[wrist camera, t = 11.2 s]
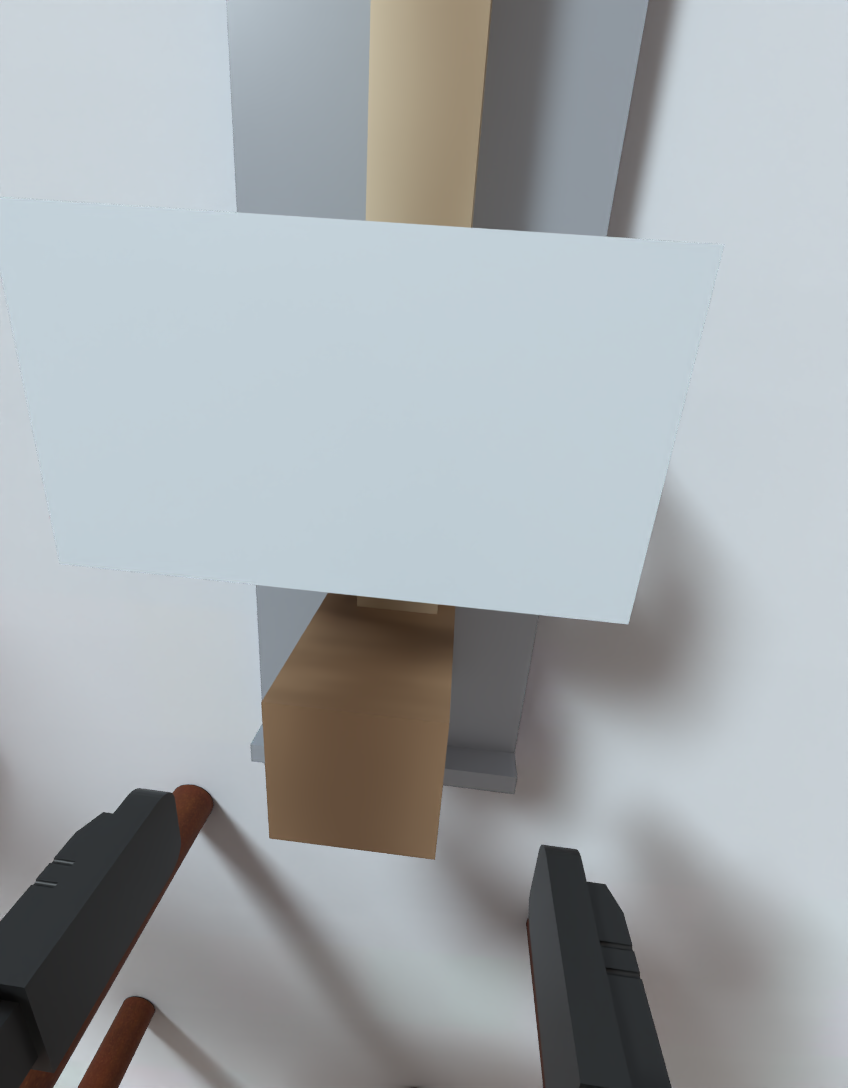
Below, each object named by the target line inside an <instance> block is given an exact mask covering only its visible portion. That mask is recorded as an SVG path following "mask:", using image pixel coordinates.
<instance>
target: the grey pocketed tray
mask: <svg viewBox="0 0 848 1088" xmlns="http://www.w3.org/2000/svg"><path fill="white" fill-rule="evenodd" d="M648 1H649V0H492V12H491V23H490V34H489V45H488V57H487V68H486V79H485V91H484V102H483V113H482V124H481V136H480V147H479V158H478V170H477V181H476V192H475V203H474V215H473V226H472V228H468V227H453V226H437V225H422V224H407V223H392V222H376V221H366V182H367V138H368V93H369V49H370V5H371V0H226V6H227V26H228V45H229V65H230V85H231V104H232V124H233V143H234V163H235V183H236V202H237V212H224V211H209V210H193V209H178V208H163V207H148V206H132V205H117V204H102V203H87V202H71V201H56V200H41V199H26V198H10V197H0V274H1V279H2V284H3V289H4V294H5V299H6V303H7V308H8V313H9V318H10V323H11V328H12V333H13V338H14V343H15V348H16V353H17V357H18V362H19V367H20V372H21V377H22V382H23V387H24V392H25V397H26V402H27V407H28V411H29V416H30V421H31V426H32V431H33V436H34V441H35V446H36V451H37V456H38V461H39V465H40V470H41V475H42V480H43V485H44V490H45V495H46V500H47V505H48V510H49V514H50V519H51V524H52V529H53V534H54V539H55V544H56V549H57V554H58V559H59V564H64V565H73V566H83V567H92V568H102V569H111V570H120V571H130V572H139V573H149V574H158V575H167V576H177V577H186V578H196V579H205V580H215V581H224V582H233V583H243V584H252V585H256V595H257V615H258V634H259V654H260V674H261V693H262V700H263V698H264V697H265V695H266V694H267V692H268V690H269V689H270V687H271V685H272V684H273V682H274V680H275V679H276V677H277V675H278V674H279V672H280V671H281V669H282V667H283V666H284V664H285V662H286V661H287V659H288V657H289V656H290V654H291V653H292V651H293V649H294V648H295V646H296V644H297V643H298V641H299V639H300V638H301V636H302V634H303V633H304V631H305V630H306V628H307V626H308V625H309V623H310V621H311V620H312V618H313V616H314V615H315V613H316V611H317V610H318V608H319V607H320V605H321V603H322V602H323V600H324V598H325V597H326V595H327V593H337V594H346V595H356V596H365V597H375V598H384V599H393V600H403V601H412V602H422V603H431V604H441V605H450V606H455V624H454V644H453V663H452V683H451V703H450V722H449V732H448V742H447V751H446V760H445V770H444V779H443V785H445V786H453V787H461V788H469V789H477V790H485V791H493V792H501V793H509V794H514V793H515V787H516V782H517V771H516V763H515V755H514V752H515V747H516V741H517V735H518V730H519V724H520V719H521V713H522V707H523V702H524V696H525V691H526V685H527V679H528V674H529V668H530V663H531V657H532V651H533V646H534V640H535V635H536V629H537V623H538V618H539V615H544V616H554V617H563V618H572V619H582V620H591V621H601V622H610V623H620V624H629V620H630V616H631V612H632V608H633V604H634V600H635V596H636V592H637V588H638V584H639V580H640V576H641V572H642V569H643V565H644V561H645V557H646V553H647V549H648V545H649V541H650V537H651V533H652V529H653V525H654V521H655V517H656V513H657V509H658V505H659V501H660V497H661V493H662V490H663V486H664V482H665V478H666V474H667V470H668V466H669V462H670V458H671V454H672V450H673V446H674V442H675V438H676V434H677V430H678V426H679V422H680V418H681V414H682V411H683V407H684V403H685V399H686V395H687V391H688V387H689V383H690V379H691V375H692V371H693V367H694V363H695V359H696V355H697V351H698V347H699V343H700V339H701V335H702V332H703V328H704V324H705V320H706V316H707V312H708V308H709V304H710V300H711V296H712V292H713V288H714V284H715V280H716V276H717V272H718V268H719V264H720V260H721V256H722V253H723V249H724V245H725V244H712V243H697V242H681V241H666V240H651V239H636V238H620V237H607V231H608V225H609V220H610V214H611V209H612V203H613V197H614V192H615V186H616V181H617V175H618V169H619V164H620V158H621V153H622V147H623V141H624V136H625V130H626V125H627V119H628V113H629V108H630V102H631V97H632V91H633V85H634V80H635V74H636V69H637V63H638V57H639V52H640V46H641V41H642V35H643V29H644V24H645V18H646V13H647V7H648ZM251 760H252V761H254V762H262V763H265V755H264V738H263V724H262V725H261V727H260V729H259V731H258V732H257V734H256V736H255V738H254V739H253V741H252V743H251Z"/></svg>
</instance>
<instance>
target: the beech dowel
mask: <svg viewBox="0 0 848 1088" xmlns="http://www.w3.org/2000/svg"><path fill="white" fill-rule="evenodd" d="M491 12H492V0H371V5H370V49H369V93H368V138H367V182H366V221H376V222H392V223H407V224H422V225H437V226H453V227H468V228H472V226H473V215H474V203H475V192H476V181H477V170H478V158H479V147H480V136H481V124H482V113H483V102H484V91H485V79H486V68H487V57H488V45H489V34H490V23H491ZM357 606H359V607H369V608H379V609H389V610H399V611H409V612H418V613H428V614H437V610H438V604H431V603H422V602H412V601H403V600H393V599H384V598H375V597H365V596H357Z"/></svg>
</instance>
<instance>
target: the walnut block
mask: <svg viewBox="0 0 848 1088" xmlns="http://www.w3.org/2000/svg"><path fill="white" fill-rule="evenodd" d="M454 624H455V606H450V605H441V604H438V610H437V614H428V613H418V612H409V611H399V610H389V609H379V608H369V607H359V606H357V596H356V595H346V594H337V593H327V595H326V597H325V598H324V600H323V602H322V603H321V605H320V607H319V608H318V610H317V611H316V613H315V615H314V616H313V618H312V620H311V621H310V623H309V625H308V626H307V628H306V630H305V631H304V633H303V634H302V636H301V638H300V639H299V641H298V643H297V644H296V646H295V648H294V649H293V651H292V653H291V654H290V656H289V657H288V659H287V661H286V662H285V664H284V666H283V667H282V669H281V671H280V672H279V674H278V675H277V677H276V679H275V680H274V682H273V684H272V685H271V687H270V689H269V690H268V692H267V694H266V695H265V697H264V698H263V700H262V702H261V705H262V722H263V738H264V755H265V772H266V789H267V806H268V823H269V838H271V839H279V840H286V841H294V842H302V843H310V844H317V845H325V846H333V847H341V848H348V849H356V850H364V851H372V852H379V853H387V854H395V855H403V856H411V857H418V858H426V859H434V860H435V853H436V844H437V835H438V825H439V816H440V807H441V797H442V788H443V779H444V770H445V760H446V751H447V742H448V732H449V722H450V703H451V683H452V663H453V644H454Z"/></svg>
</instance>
